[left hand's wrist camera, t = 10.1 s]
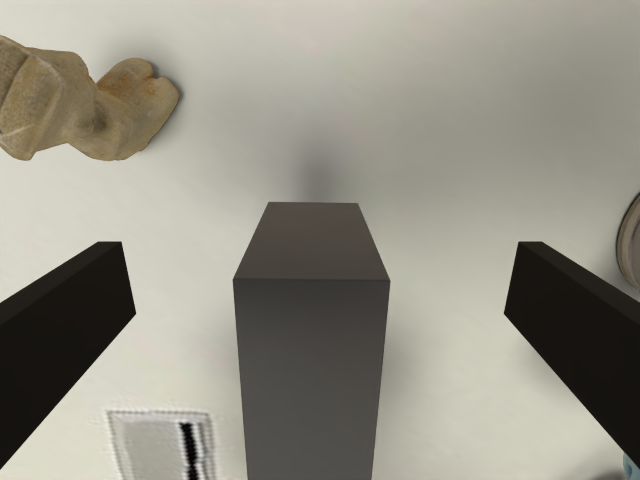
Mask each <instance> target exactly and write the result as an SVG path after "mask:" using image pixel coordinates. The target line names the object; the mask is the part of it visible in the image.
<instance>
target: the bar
mask: <svg viewBox="0 0 640 480" xmlns="http://www.w3.org/2000/svg"><path fill="white" fill-rule="evenodd" d="M233 290H234V303H235V317H236V330H237V343H238V356H239V370H240V383H241V396H242V410H243V423H244V436H245V449H246V463H247V476H248V480H371V478H372V467H373V457H374V447H375V436H376V426H377V415H378V405H379V394H380V384H381V374H382V363H383V353H384V342H385V332H386V322H387V311H388V301H389V290H390V279H389V277H388V274H387V272H386V270H385V267H384V265H383V262H382V260H381V258H380V255H379V253H378V250H377V248H376V246H375V243H374V241H373V238H372V236H371V234H370V231H369V229H368V227H367V224H366V222H365V219H364V217H363V215H362V212H361V210H360V207H359V205H358V203H304V202H268V205H267V207H266V209H265V211H264V213H263V215H262V218H261V220H260V222H259V224H258V226H257V228H256V230H255V233H254V235H253V237H252V239H251V241H250V243H249V246H248V248H247V250H246V252H245V254H244V256H243V258H242V261H241V263H240V265H239V267H238V269H237V271H236V274H235V276H234V278H233Z"/></svg>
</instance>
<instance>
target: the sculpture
mask: <svg viewBox="0 0 640 480" xmlns="http://www.w3.org/2000/svg"><path fill="white" fill-rule="evenodd" d="M178 98H179V93H178V91H177V89H176V88H175V87H174V86H173V85H172V84H171V83H170V81H169V80H168V79H166V78H164V77H159V78H156V79H155V78H154V73H153V69H152V67H151V66H150V64H148V63H147V62H146V61H144V60H142V59H140V58H132V59H127V60H124V61H122V62H120V63H118V64H117V65H115V66H114V67H113V68H112V69H111V70H110V71H109V72H108V73H106V74H105V75H104V76H103V77H102V78H101V79H100V80H99V81H98V82H97V83H96V84H95V82H94V81H93V80H92V78H91V77H90V76H89V73H88V68H87V66H86V64H85V63H84V61H83V60H82V58H81V57H80V56H79V55H77V54H76V53H74V52H66V51H54V50H41V49H37V48H29V47H24V46H22V45H21V44H19V43H17V42H15V41H13V40H11V39H9V38H7V37H5V36H2V35H0V147H1V148H2V149H4V150H5V151H6V152H7V153H8V154H9V155H11V156H12V157H13V158H16V159H19V160H24V161H28V160H30V159H31V158H32V157H33V155H34V154H35V153H36V152H37V151H41V150H45V149H48V148H51V147H54V146H58V145H61V144H65V143H69V144H70V145H71V146H73V147H74V148H76V149H77V150H79V151H81V152H82V153H84V154H85V155H87V156H88V157H90V158H93V159H98V160H104V161H112V160H125V159H127V158H129V157H130V156H132V155H133V154H135V153H136V152H138V151H142V150H143V149H145V147H146V146H147V145H148V143H149V140H150V139H151V138H152V137H153V136H154V135H155V134H156V133H157V132H158V131H159V129H160V128H161V127H162V125H163V124H164V123H165V121H166V120H167V118H168V117H169V116H170V114H171V113H172V111H173V109H174V108H175V106H176V104H177V101H178Z"/></svg>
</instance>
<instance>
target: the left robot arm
mask: <svg viewBox="0 0 640 480" xmlns="http://www.w3.org/2000/svg"><path fill="white" fill-rule="evenodd" d="M617 257H618V263H619V266H620V269H621V271H622V273H623V275H624V277H625V278H626V280H627V281H628V282H629V283H630V284H631V285H632V286H633V287H634V288H636V289H637V290H639V291H640V195H639V196H638V198H637V199H636V200H635V202H634V203H633V205H632V206H631V208H630V209H629V211H628V213H627V215H626V217H625V219H624V221H623V224H622V226H621V229H620V233H619V237H618V243H617ZM135 315H136V310H135V305H134V300H133V296H132V291H131V286H130V281H129V276H128V271H127V266H126V261H125V257H124V252H123V247H122V242H97V243H95V244H94V245H92V246H90V247H89V248H87V249H86V250H84V251H82V252H81V253H79V254H78V255H76V256H74V257H73V258H71V259H70V260H68V261H66V262H65V263H63V264H62V265H60V266H58V267H57V268H55V269H54V270H52V271H50V272H49V273H47V274H46V275H44V276H42V277H41V278H39V279H38V280H36V281H34V282H33V283H31V284H30V285H28V286H26V287H25V288H23V289H22V290H20V291H18V292H17V293H15V294H14V295H12V296H10V297H9V298H7V299H6V300H4V301H2V302H1V303H0V469H1V468H2V467H3V466H4V465H5V464H6V463H7V461H8V460H9V459H10V458H11V457H12V456H13V455H14V453H15V452H16V451H17V450H18V449H19V448H20V446H21V445H22V444H23V443H24V442H25V441H26V440H27V438H28V437H29V436H30V435H31V434H32V433H33V432H34V430H35V429H36V428H37V427H38V426H39V425H40V424H41V422H42V421H43V420H44V419H45V418H46V417H47V416H48V414H49V413H50V412H51V411H52V410H53V409H54V407H55V406H56V405H57V404H58V403H59V402H60V401H61V399H62V398H63V397H64V396H65V395H66V394H67V393H68V391H69V390H70V389H71V388H72V387H73V386H74V385H75V383H76V382H77V381H78V380H79V379H80V378H81V377H82V375H83V374H84V373H85V372H86V371H87V370H88V368H89V367H90V366H91V365H92V364H93V363H94V362H95V360H96V359H97V358H98V357H99V356H100V355H101V354H102V352H103V351H104V350H105V349H106V348H107V347H108V346H109V344H110V343H111V342H112V341H113V340H114V339H115V338H116V336H117V335H118V334H119V333H120V332H121V331H122V329H123V328H124V327H125V326H126V325H127V324H128V323H129V321H130V320H131V319H132V318H133V317H134V316H135ZM504 315H505V316H506V317H507V318H508V319H509V320H510V321H511V323H512V324H513V325H514V326H515V327H516V328H517V329H518V331H519V332H520V333H521V334H522V335H523V336H524V338H525V339H526V340H527V341H528V342H529V343H530V344H531V346H532V347H533V348H534V349H535V350H536V351H537V352H538V354H539V355H540V356H541V357H542V358H543V359H544V360H545V362H546V363H547V364H548V365H549V366H550V367H551V368H552V370H553V371H554V372H555V373H556V374H557V375H558V377H559V378H560V379H561V380H562V381H563V382H564V383H565V385H566V386H567V387H568V388H569V389H570V390H571V391H572V393H573V394H574V395H575V396H576V397H577V398H578V399H579V401H580V402H581V403H582V404H583V405H584V406H585V407H586V409H587V410H588V411H589V412H590V413H591V414H592V416H593V417H594V418H595V419H596V420H597V421H598V422H599V424H600V425H601V426H602V427H603V428H604V429H605V430H606V432H607V433H608V434H609V435H610V436H611V437H612V438H613V440H614V441H615V442H616V443H617V444H618V445H619V446H620V448H621V449H622V450H623V451H624V455H623V465H624V470H625V474H626V477H627V479H628V480H640V303H639V302H638V301H636V300H634V299H633V298H631V297H630V296H628V295H626V294H625V293H623V292H622V291H620V290H618V289H617V288H615V287H614V286H612V285H610V284H609V283H607V282H606V281H604V280H602V279H601V278H599V277H598V276H596V275H594V274H593V273H591V272H590V271H588V270H586V269H585V268H583V267H582V266H580V265H578V264H577V263H575V262H574V261H572V260H570V259H569V258H567V257H566V256H564V255H562V254H561V253H559V252H558V251H556V250H554V249H553V248H551V247H550V246H548V245H546V244H545V243H543V242H518V247H517V252H516V257H515V261H514V266H513V271H512V276H511V281H510V286H509V291H508V296H507V300H506V305H505V310H504Z"/></svg>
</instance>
